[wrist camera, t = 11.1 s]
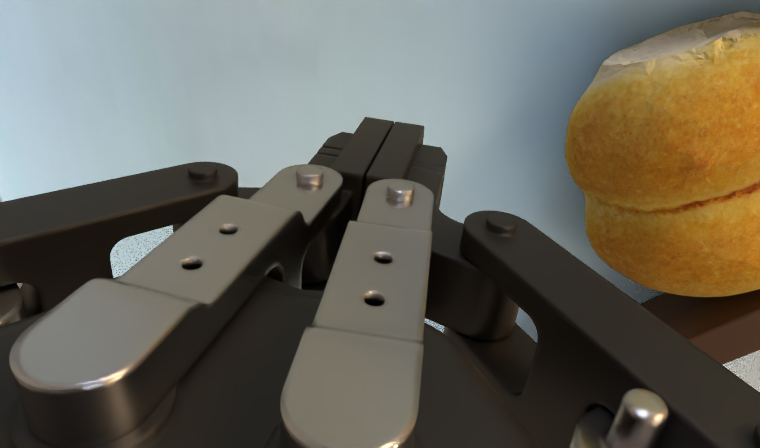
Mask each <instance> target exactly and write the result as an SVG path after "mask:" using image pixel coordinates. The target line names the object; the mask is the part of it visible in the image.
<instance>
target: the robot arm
mask: <svg viewBox="0 0 760 448" xmlns="http://www.w3.org/2000/svg"><path fill="white" fill-rule="evenodd" d="M423 137H424V126H421V125H415V124H408V123H402V122H395V124H394V121H388V120H382V119H375V118H369V117H365V118H364V120H363V121H362V122H361V124H360V125H359V127H358V128H357V130H356V131H355V132H354V134H352V133H346V132H341V133H339V134H336V135H334V136H332V137H329V138H328V139H327V141H326V142H325V143H324V144H323V146H322V147H321V148H320V149H319V151H318V152H317V154H315V156H314V157H313V158H312V159H311V161H310V162H309V163H308V164H302V165H294V166H290V167H287V168H284V169H282V170H281V171H279V172H278V173H277V174H276V175H275V176H274V177H273V178H272V179H271V180H269V181H268V182H267V183H266V184H265V185H264V186H263V187H262V188H242V187H238V173H237V171H236V170H235V169H233V168H232V167H230V166H228V165H225V164H221V163H215V162H194V163H188V164H183V165H178V166H173V167H169V168H164V169H159V170H154V171H149V172H145V173H140V174H135V175H130V176H125V177H121V178H116V179H111V180H106V181H101V182H97V183H92V184H87V185H82V186H77V187H73V188H68V189H63V190H58V191H53V192H48V193H44V194H39V195H34V196H29V197H24V198H20V199H15V200H10V201H5V202H0V448H760V393H759V392H758V391H757V390H755V389H754V388H753V387H751V386H750V385H748V384H747V383H746V382H744V381H743V380H742V379H740V378H739V377H738V376H736V375H735V374H734V373H732V372H731V371H729V370H728V369H727V368H725V367H724V366H723V365H721V364H720V363H719V362H717V361H716V360H715V359H713V358H712V357H710V356H709V355H708V354H706V353H705V352H704V351H702V350H701V349H700V348H698V347H697V346H696V345H694V344H693V343H691V342H690V341H689V340H687V339H686V338H685V337H683V336H682V335H681V334H679V333H678V332H677V331H675V330H674V329H672V328H671V327H670V326H668V325H667V324H666V323H664V322H663V321H662V320H660V319H659V318H658V317H656V316H655V315H654V314H652V313H651V312H649V311H648V310H647V309H645V308H644V307H643V306H641V305H640V304H639V303H637V302H636V301H635V300H633V299H632V298H630V297H629V296H628V295H626V294H625V293H624V292H622V291H621V290H620V289H618V288H617V287H616V286H614V285H613V284H611V283H610V282H609V281H607V280H606V279H605V278H603V277H602V276H601V275H599V274H598V273H597V272H595V271H594V270H592V269H591V268H590V267H588V266H587V265H586V264H584V263H583V262H582V261H580V260H579V259H578V258H576V257H575V256H573V255H572V254H571V253H569V252H568V251H567V250H565V249H564V248H563V247H561V246H560V245H559V244H557V243H556V242H554V241H553V240H552V239H550V238H549V237H548V236H546V235H545V234H544V233H542V232H541V231H540V230H538V229H537V228H535V227H534V226H533V225H531V224H530V223H529V222H527V221H526V220H524V219H522V218H520V217H518V216H515V215H512V214H509V213H505V212H500V211H479V212H475V213H472V214H470V215H468V216H467V217H466V218H465V221H464V224H462V223H460V222H457V221H455V220H453V219H451V218H449V217H447V216H446V215H444V214H443V213H442V212H441V211H440V210H439V206H440V200H441V194H442V188H443V181H444V175H445V169H446V162H447V155H446V154H445V152H444V151H443V150H442V148H441V147H434V146H428V145H423ZM170 225H173V234H172V235H170V236H169V237H168V238H167V239H166V240H164V241H163V242H162V243H161V244H159V245H158V246H157V247H156V248H155V249H153V250H152V251H151V252H150V253H148V254H147V255H146V256H145V257H144V258H142V259H141V260H140V261H139V262H138V263H136V264H135V265H134V266H133V267H131V268H130V269H129V270H128V271H127V272H125V273H124V274H123V275H122V276H119V277H116V278H113V275H112V269H111V262H110V253H111V250H112V248H113V247H114V246H115V244H116V243H117V242H119V241H120V240H122V239H124V238H126V237H129V236H133V235H137V234H140V233H144V232H148V231H151V230H155V229H159V228H162V227H166V226H170ZM17 283H23V284H22V286H21V288H20V289H19V287H18V285H17ZM519 307H520V308H521V309H522V310H523V311H525V312H526V313H527V314H528V315H529V316H530V318H531V319H532V321H533V322H534V324H535V327H536V330H537V335H538V342H537V343H536V342H535V341H534V340H533V339H532V338H531V337H530V336H529V335H528V334H527V333H526V332H525V331H524V330H523V329H522V328H520V327H519V326H518V325H517V324H516V323H515V320H516V316H517V312H518V308H519ZM425 318H427V319H429V320H431V321H434V322H436V323H438V324H440V325H443V326H445V328H444V334H443V333H442V332H440V331H439V330H437V329H436V328H434V327H432V326H430V325H428V324H426V323H424V321H425Z"/></svg>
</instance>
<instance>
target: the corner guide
mask: <svg viewBox="0 0 760 448" xmlns="http://www.w3.org/2000/svg"><path fill="white" fill-rule="evenodd" d="M641 306H643V307H644V308H645V309H647V310H648V311H649V312H651V313H652V314H654V315H655V316H656V317H658V318H659V319H660V320H662V321H663V322H664V323H666V324H667V325H668V326H670V327H671V328H672V329H674V330H675V331H677V332H678V333H679V334H681V335H682V336H683V337H685V338H686V339H687V340H689V341H690V342H691V343H693V344H694V345H696V346H697V347H698V348H700V349H701V350H702V351H704V352H705V353H706V354H708V355H709V356H710V357H712V358H713V359H715V360H716V361H717V362H719V363H720V364H721V365H722V364H725V363H727V362H730V361H733V360H735V359H738V358H740V357H743V356H745V355H748V354H750V353H753V352H755V351H758V350H760V289H758V290H754V291H750V292H746V293H742V294H736V295H731V296H722V297H692V296H683V295H677V294H671V293H665V294H663V295H661V296H659V297H656V298H654V299H652V300H650V301H648V302H646V303H643V304H641Z"/></svg>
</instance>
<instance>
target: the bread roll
mask: <svg viewBox="0 0 760 448" xmlns="http://www.w3.org/2000/svg"><path fill="white" fill-rule="evenodd" d="M565 157H566V161H567V164H568V168H569V172H570V174H571V176H572V178H573V179H574V181H575V183H576V184H577V185H578V186H579V187H580V188H581V189H582V190H583V193H584V197H585V201H586V205H585V222H586V233H587V236H588V238H589V241H590V243H591V246H592V248H593V249H594V250H595V252H596V253H597V254H598V255H599V257H600V258H601V259H602V260H603V261H604V262H605V263H607V264H608V265H609V266H610V267H611V268H613V269H614V270H616V271H618V272H619V273H621V274H622V275H624V276H626V277H627V278H629V279H631V280H632V281H634V282H636V283H638V284H640V285H642V286H644V287H647V288H650V289H654V290H658V291H662V292H666V293H671V294H677V295H683V296H692V297H722V296H731V295H736V294H742V293H746V292H750V291H754V290H758V289H760V14H759V13H754V12H749V11H741V12H737V13H733V14H727V15H722V16H719V17H715V18H711V19H707V20H703V21H699V22H695V23H691V24H687V25H683V26H680V27H677V28H674V29H672V30H669V31H667V32H665V33H663V34H660V35H657V36H653V37H651V38H649V39H647V40H645V41H643V42H641V43H639V44H636V45H632V46H630V47H628V48H626V49H623V50H620V51H618V52H616V53H614V54H613V55H611V56H610V57H609V58H607V59H606V60H605V61H604V62H603V63H602V64H601V66H600V68H599V70H598V72H597V73H596V75H595V77H594V79H593V81H592V82H591V84H590V85H589V87H588V88H587V89H586V91H585V92H584V94H583V95H582V96H581V98H580V99H579V101H578V102H577V104H576V106H575V107H574V109H573V111H572V114H571V116H570V118H569V123H568V127H567V136H566V149H565Z"/></svg>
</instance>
